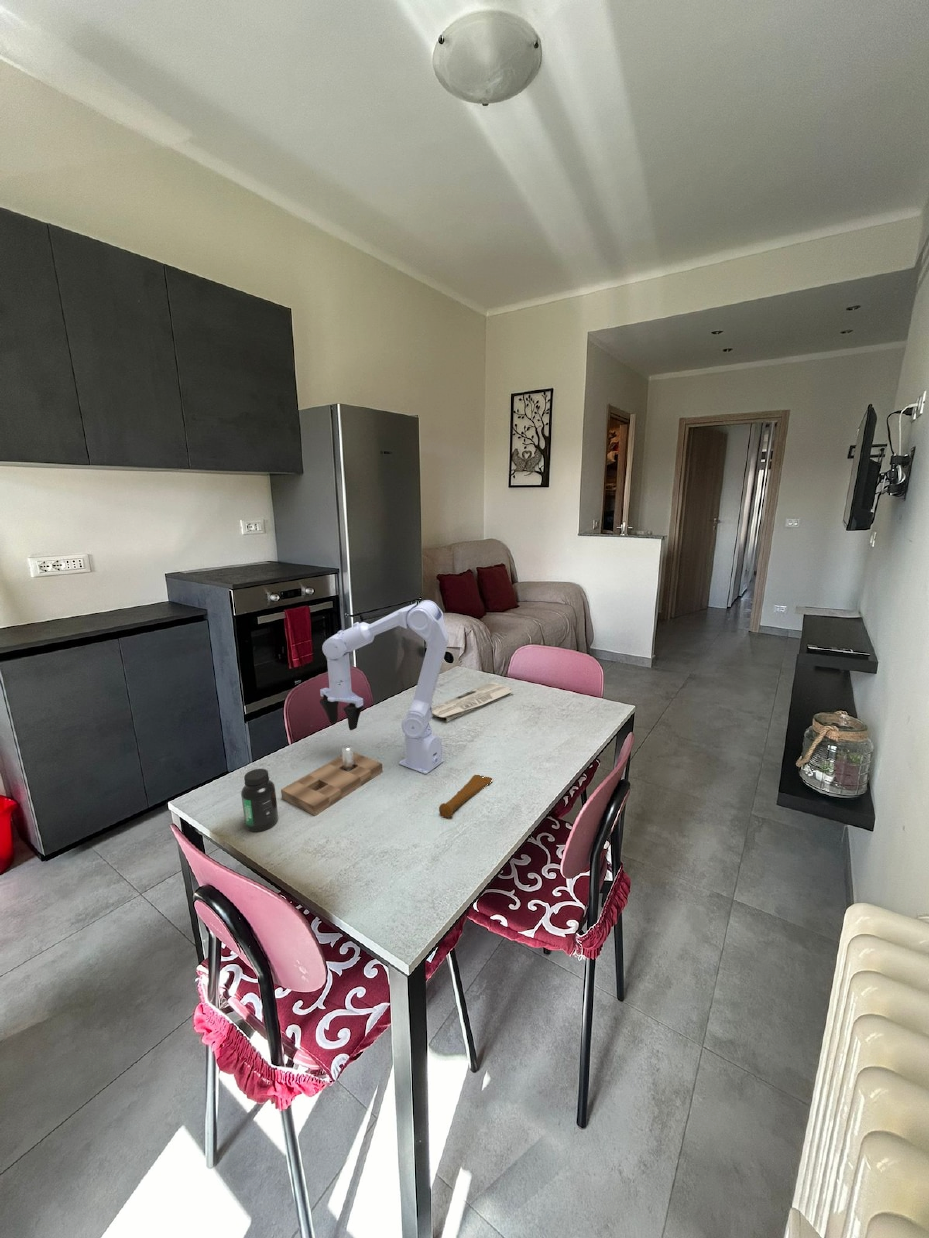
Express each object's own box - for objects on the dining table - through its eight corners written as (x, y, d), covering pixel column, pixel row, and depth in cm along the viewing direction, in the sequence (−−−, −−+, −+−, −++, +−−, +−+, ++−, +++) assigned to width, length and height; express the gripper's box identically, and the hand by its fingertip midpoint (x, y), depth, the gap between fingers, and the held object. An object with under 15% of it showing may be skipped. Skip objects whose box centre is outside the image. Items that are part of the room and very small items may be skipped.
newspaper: (489, 686, 188) (489, 677, 187) (515, 694, 179) (515, 685, 179) (421, 717, 162) (421, 707, 161) (449, 728, 154) (448, 717, 153)
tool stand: (382, 771, 129) (382, 763, 128) (315, 815, 111) (314, 806, 111) (350, 758, 136) (349, 750, 135) (281, 798, 118) (280, 789, 117)
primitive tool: (475, 775, 127) (475, 763, 127) (495, 781, 125) (495, 768, 124) (437, 817, 111) (436, 803, 110) (458, 824, 109) (458, 810, 108)
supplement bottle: (249, 836, 105) (243, 786, 102) (242, 820, 110) (235, 772, 107) (282, 824, 109) (276, 775, 106) (273, 809, 114) (268, 762, 111)
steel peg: (356, 774, 128) (354, 746, 126) (349, 779, 126) (346, 751, 124) (349, 771, 129) (347, 744, 127) (342, 776, 127) (339, 748, 125)
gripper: (309, 677, 132) (313, 724, 135) (347, 688, 124) (351, 737, 127) (330, 670, 138) (333, 715, 141) (367, 680, 130) (370, 727, 133)
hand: (343, 725), depth 135 cm, fingers open, 7 cm apart
